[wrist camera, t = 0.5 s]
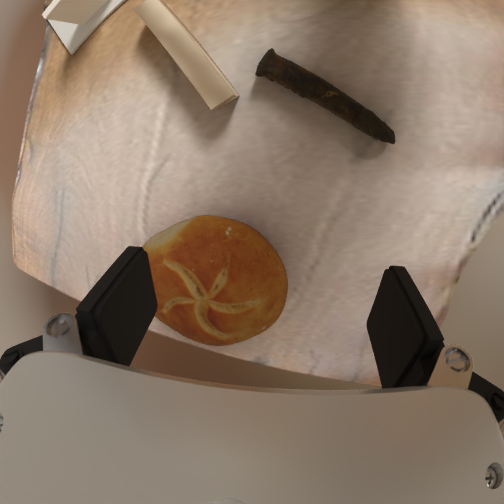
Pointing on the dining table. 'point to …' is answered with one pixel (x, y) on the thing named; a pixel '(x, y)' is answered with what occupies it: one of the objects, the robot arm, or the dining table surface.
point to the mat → (77, 33)
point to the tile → (73, 10)
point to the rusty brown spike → (323, 95)
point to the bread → (216, 280)
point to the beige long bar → (187, 53)
